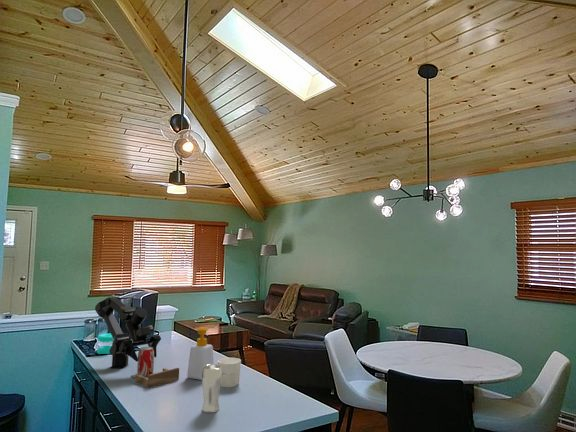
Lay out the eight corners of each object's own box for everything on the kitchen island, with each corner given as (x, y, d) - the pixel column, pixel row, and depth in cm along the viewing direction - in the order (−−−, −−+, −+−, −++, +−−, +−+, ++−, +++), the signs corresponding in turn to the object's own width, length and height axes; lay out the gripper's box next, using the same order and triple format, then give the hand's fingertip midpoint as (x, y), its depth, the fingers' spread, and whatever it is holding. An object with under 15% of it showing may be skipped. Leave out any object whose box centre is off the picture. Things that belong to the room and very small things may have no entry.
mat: (130, 376, 180) (130, 375, 180) (148, 372, 187) (148, 371, 187) (141, 380, 175) (141, 379, 175) (159, 375, 181) (159, 375, 181)
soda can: (147, 378, 177) (149, 350, 178) (133, 376, 178) (135, 349, 179) (156, 373, 184) (157, 346, 185) (142, 372, 185) (143, 345, 186)
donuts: (103, 337, 216) (93, 335, 221) (102, 356, 215) (92, 353, 221) (120, 334, 224) (110, 332, 230) (119, 352, 223) (109, 350, 229)
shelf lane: (135, 382, 172) (136, 370, 173) (164, 374, 183) (165, 363, 184) (149, 387, 165) (150, 375, 166) (178, 379, 176) (179, 368, 177)
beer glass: (202, 406, 146) (203, 364, 148) (221, 405, 147) (222, 364, 148) (199, 413, 139) (201, 369, 141) (219, 413, 140) (220, 369, 141)
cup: (244, 382, 174) (244, 358, 175) (234, 389, 165) (234, 364, 166) (224, 379, 177) (224, 356, 178) (212, 386, 168) (213, 362, 169)
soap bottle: (221, 373, 187) (222, 324, 189) (203, 381, 174) (204, 329, 177) (204, 370, 191) (205, 323, 193) (185, 378, 179) (187, 327, 181)
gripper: (123, 322, 179) (134, 351, 171) (159, 317, 193) (172, 344, 185) (113, 338, 183) (124, 367, 175) (150, 332, 197) (161, 359, 189)
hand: (146, 358), depth 181 cm, fingers open, 9 cm apart
